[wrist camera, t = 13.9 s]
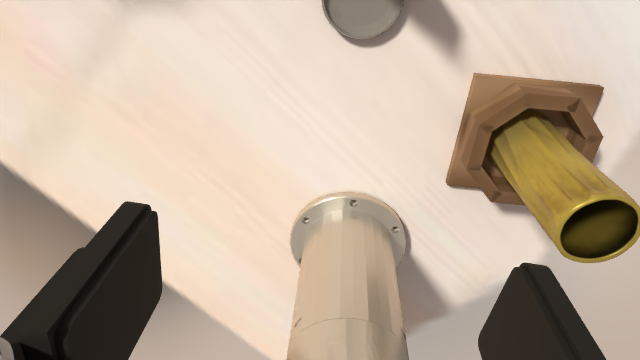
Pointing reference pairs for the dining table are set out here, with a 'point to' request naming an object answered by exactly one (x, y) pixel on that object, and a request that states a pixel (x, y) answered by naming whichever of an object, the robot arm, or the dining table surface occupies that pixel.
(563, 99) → the collar
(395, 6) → the pocket watch
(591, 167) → the vase
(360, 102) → the dining table surface
